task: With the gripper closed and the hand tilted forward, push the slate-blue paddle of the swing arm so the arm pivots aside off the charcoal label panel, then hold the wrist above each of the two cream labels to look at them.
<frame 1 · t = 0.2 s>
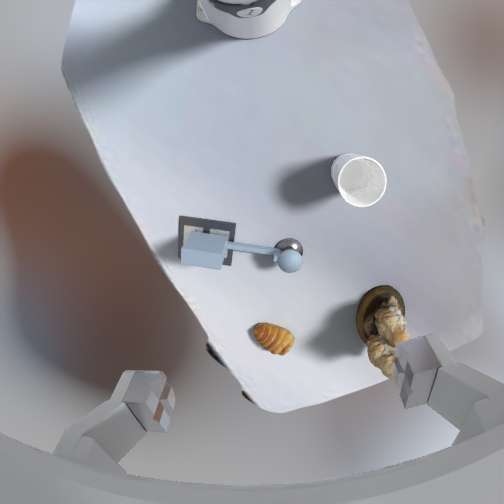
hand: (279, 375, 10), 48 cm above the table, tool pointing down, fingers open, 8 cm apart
label panel: (206, 240, 60), on the table
white cup: (347, 171, 53), on the table
swing arm: (244, 255, 55), point 5 cm above the table, hinge at 0.0°
pivot post: (289, 250, 60), on the table
pastry: (274, 335, 69), on the table
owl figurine: (380, 316, 65), on the table
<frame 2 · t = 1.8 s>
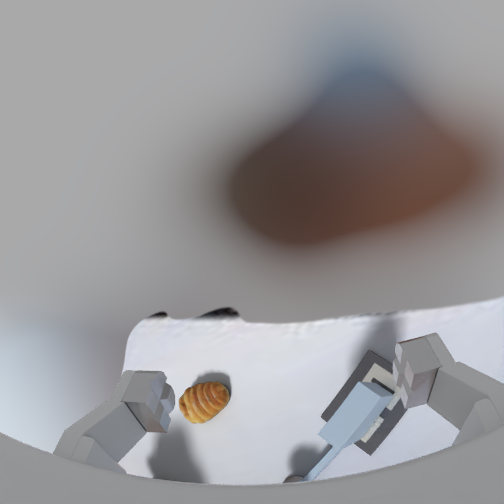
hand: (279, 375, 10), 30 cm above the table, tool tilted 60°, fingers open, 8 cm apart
label panel: (371, 403, 33), on the table
swing arm: (321, 459, 29), point 5 cm above the table, hinge at 0.0°
pivot post: (298, 491, 32), on the table
pastry: (208, 401, 48), on the table
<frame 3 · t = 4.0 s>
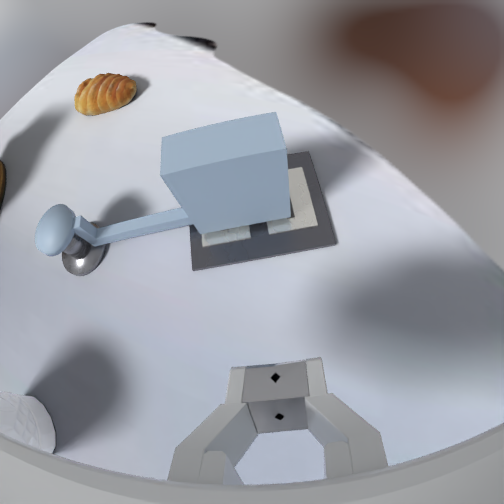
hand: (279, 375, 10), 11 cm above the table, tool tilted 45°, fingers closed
label panel: (255, 206, 25), on the table
white cup: (35, 427, 20), on the table
swing arm: (136, 202, 21), point 5 cm above the table, hinge at 0.0°
pivot post: (84, 249, 26), on the table
pastry: (109, 100, 35), on the table
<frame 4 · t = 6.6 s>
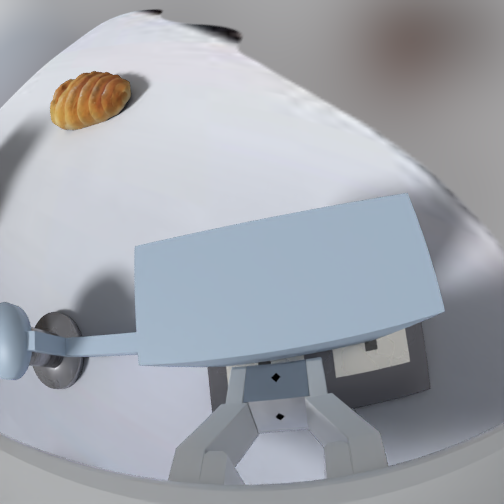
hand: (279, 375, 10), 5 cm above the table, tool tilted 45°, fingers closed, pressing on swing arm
label panel: (314, 324, 15), on the table
swing arm: (110, 334, 11), point 5 cm above the table, hinge at 2.0°, touching gripper
pivot post: (57, 351, 17), on the table
pastry: (95, 108, 26), on the table
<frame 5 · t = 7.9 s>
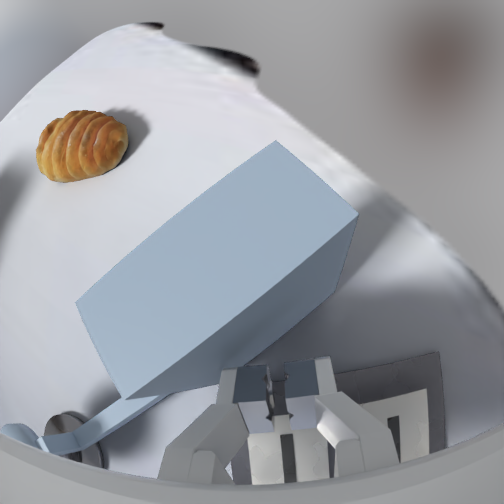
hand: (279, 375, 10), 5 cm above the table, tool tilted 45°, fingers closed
label panel: (342, 457, 12), on the table
swing arm: (102, 402, 10), point 5 cm above the table, hinge at 32.4°, touching gripper
pivot post: (73, 450, 14), on the table
pastry: (88, 153, 23), on the table
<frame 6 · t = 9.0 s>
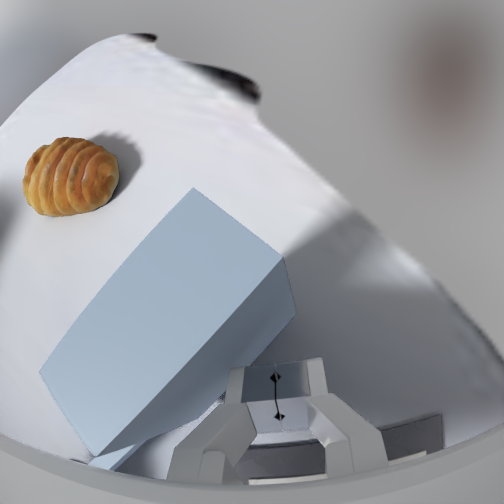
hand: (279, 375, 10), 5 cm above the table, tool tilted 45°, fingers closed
swing arm: (90, 451, 9), point 5 cm above the table, hinge at 42.0°, touching gripper
pastry: (78, 184, 22), on the table
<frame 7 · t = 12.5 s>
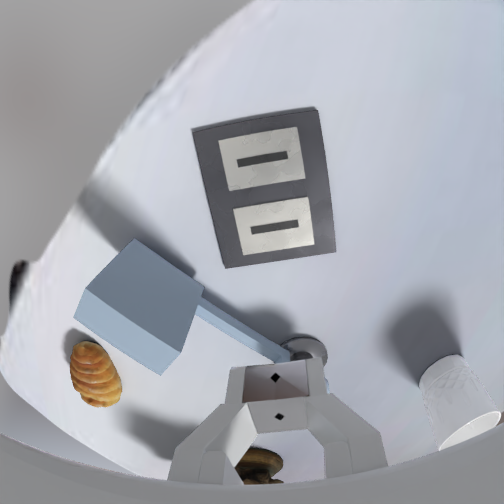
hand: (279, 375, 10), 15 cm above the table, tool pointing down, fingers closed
label panel: (268, 192, 22), on the table
white cup: (441, 372, 30), on the table
swing arm: (224, 351, 23), point 5 cm above the table, hinge at 42.0°
pivot post: (300, 356, 29), on the table
pastry: (98, 367, 33), on the table
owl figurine: (230, 463, 40), on the table
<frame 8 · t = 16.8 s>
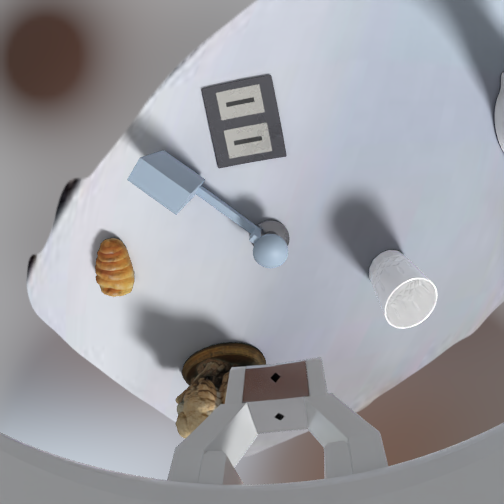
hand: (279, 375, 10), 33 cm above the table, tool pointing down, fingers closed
label panel: (244, 121, 37), on the table
white cup: (387, 268, 44), on the table
swing arm: (215, 212, 37), point 5 cm above the table, hinge at 42.0°
pivot post: (270, 237, 43), on the table
pastry: (117, 265, 47), on the table
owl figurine: (221, 367, 55), on the table
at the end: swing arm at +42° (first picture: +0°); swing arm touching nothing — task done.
